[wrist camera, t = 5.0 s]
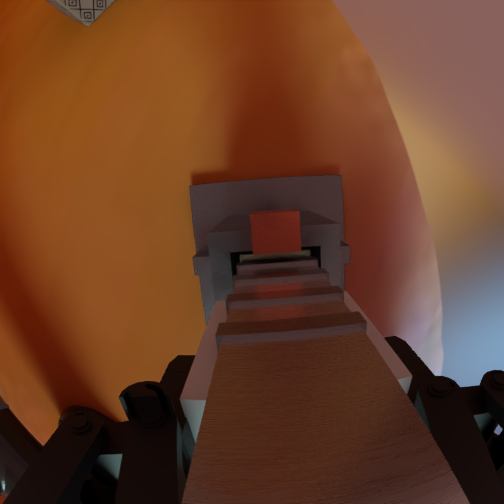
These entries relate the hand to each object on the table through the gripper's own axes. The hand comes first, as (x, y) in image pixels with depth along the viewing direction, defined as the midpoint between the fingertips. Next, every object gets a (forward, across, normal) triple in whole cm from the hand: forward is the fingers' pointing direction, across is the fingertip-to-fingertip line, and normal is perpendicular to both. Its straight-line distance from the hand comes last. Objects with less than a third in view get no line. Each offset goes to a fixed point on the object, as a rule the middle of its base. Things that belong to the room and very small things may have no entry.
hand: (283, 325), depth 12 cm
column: (+11, 0, 0) cm, 11 cm away
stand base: (+15, 0, 0) cm, 15 cm away
